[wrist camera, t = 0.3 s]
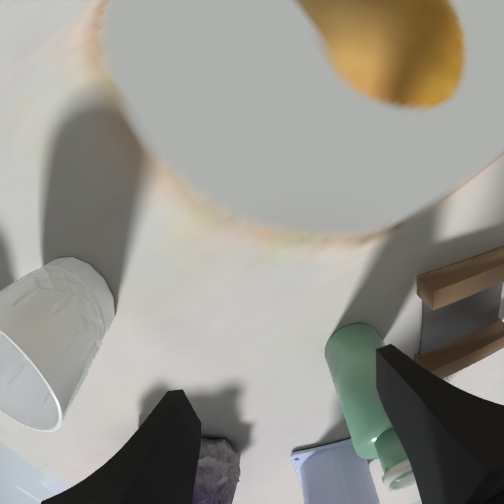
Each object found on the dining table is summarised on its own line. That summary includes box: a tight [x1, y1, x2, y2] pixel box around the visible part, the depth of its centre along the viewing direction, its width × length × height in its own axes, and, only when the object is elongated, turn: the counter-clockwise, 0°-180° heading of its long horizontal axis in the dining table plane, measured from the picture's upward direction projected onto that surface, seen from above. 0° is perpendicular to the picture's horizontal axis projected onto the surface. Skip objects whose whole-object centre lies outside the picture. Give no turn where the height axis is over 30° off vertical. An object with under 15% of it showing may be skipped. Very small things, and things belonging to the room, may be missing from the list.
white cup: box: [0, 257, 115, 432], centre depth 16 cm, size 8×8×10 cm
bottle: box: [325, 323, 416, 491], centre depth 16 cm, size 4×4×12 cm
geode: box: [135, 432, 240, 504], centre depth 23 cm, size 20×12×10 cm, turn 160°
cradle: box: [415, 246, 504, 379], centre depth 20 cm, size 9×10×2 cm
